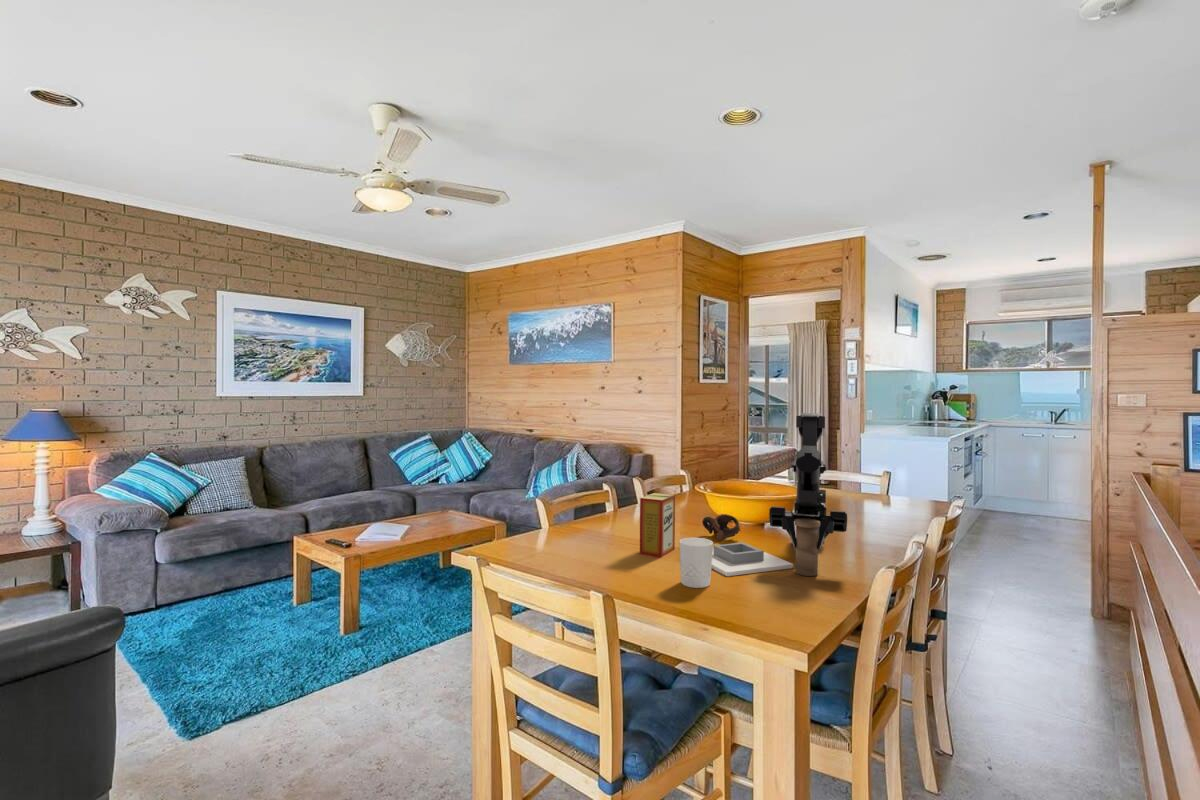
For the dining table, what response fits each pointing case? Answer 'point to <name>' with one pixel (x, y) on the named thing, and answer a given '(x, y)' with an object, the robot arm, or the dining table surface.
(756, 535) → the dining table surface
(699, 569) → the white cup
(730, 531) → the pottery mug
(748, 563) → the square socket base
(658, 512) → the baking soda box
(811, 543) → the brown cylinder
